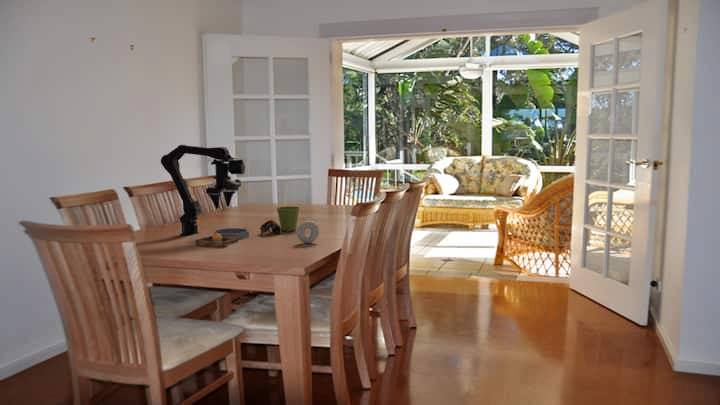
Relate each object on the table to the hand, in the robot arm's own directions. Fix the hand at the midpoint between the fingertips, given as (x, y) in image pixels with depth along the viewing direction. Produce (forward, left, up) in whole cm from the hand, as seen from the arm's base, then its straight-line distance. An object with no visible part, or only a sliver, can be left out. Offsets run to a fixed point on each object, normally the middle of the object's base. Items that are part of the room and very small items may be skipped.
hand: (222, 207), depth 280 cm
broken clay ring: (+21, +8, -13) cm, 26 cm away
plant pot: (+23, +22, -13) cm, 34 cm away
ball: (+10, -21, -12) cm, 26 cm away
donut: (+46, -6, -13) cm, 48 cm away
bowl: (+8, -6, -13) cm, 16 cm away
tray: (+10, -21, -13) cm, 27 cm away
